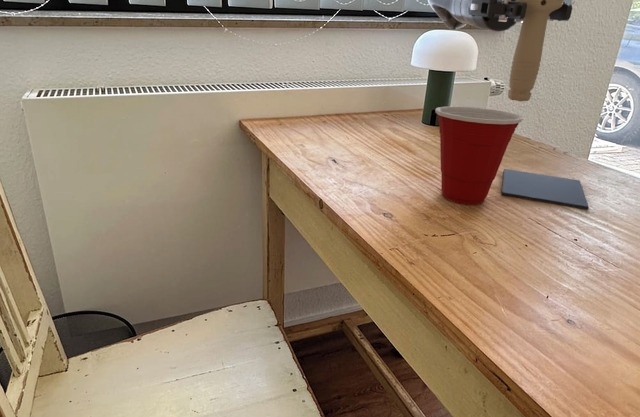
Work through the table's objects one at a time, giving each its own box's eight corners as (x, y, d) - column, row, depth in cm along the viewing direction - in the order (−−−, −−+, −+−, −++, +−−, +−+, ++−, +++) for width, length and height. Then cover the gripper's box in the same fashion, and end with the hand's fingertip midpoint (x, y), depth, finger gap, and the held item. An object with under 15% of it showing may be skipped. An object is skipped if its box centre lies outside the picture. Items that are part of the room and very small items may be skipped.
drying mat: (579, 182, 75) (579, 180, 75) (587, 209, 65) (588, 206, 65) (503, 170, 78) (504, 168, 78) (501, 194, 69) (502, 192, 69)
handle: (543, 104, 75) (568, -3, 68) (500, 101, 75) (521, -5, 69) (535, 98, 79) (558, -4, 73) (494, 95, 80) (513, -6, 73)
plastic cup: (496, 185, 72) (513, 104, 67) (511, 216, 62) (533, 123, 57) (421, 178, 73) (433, 98, 68) (425, 207, 63) (439, 115, 58)
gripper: (454, -20, 82) (505, -20, 67) (533, -16, 84) (598, -15, 69) (448, 28, 85) (494, 38, 70) (523, 30, 87) (584, 41, 72)
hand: (546, 11), depth 70 cm, fingers closed on handle, 6 cm apart
